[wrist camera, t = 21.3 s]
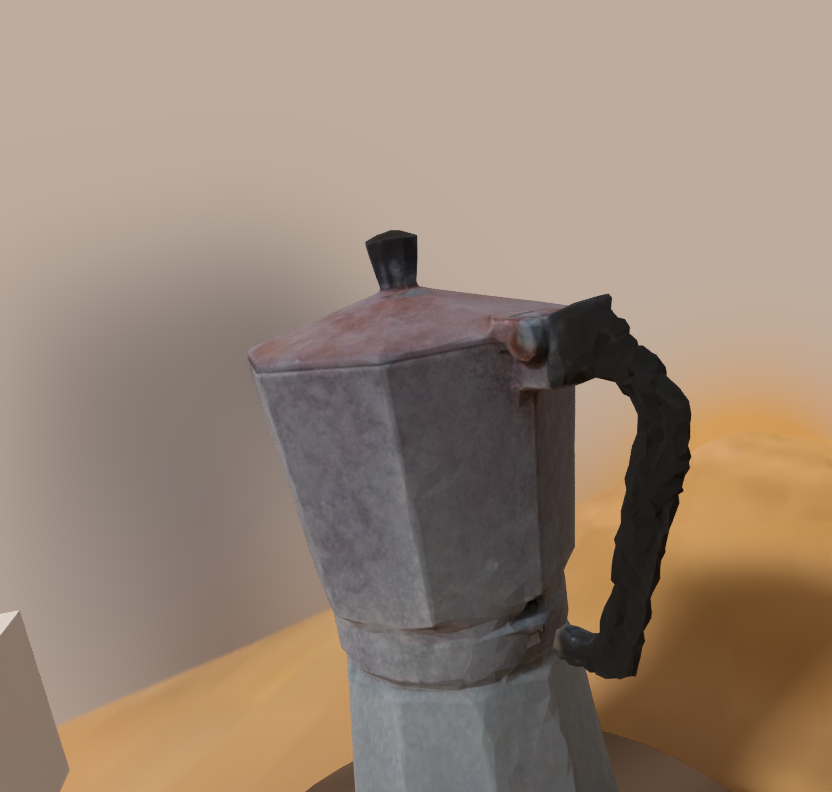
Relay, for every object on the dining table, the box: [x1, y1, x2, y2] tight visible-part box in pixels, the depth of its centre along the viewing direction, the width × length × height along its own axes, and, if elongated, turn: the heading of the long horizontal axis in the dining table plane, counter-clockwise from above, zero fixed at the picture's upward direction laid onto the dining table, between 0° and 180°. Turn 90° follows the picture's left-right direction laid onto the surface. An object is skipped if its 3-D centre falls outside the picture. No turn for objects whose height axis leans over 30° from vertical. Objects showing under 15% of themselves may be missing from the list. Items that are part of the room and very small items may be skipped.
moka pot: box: [247, 230, 691, 792], centre depth 23 cm, size 10×15×20 cm, turn 44°
